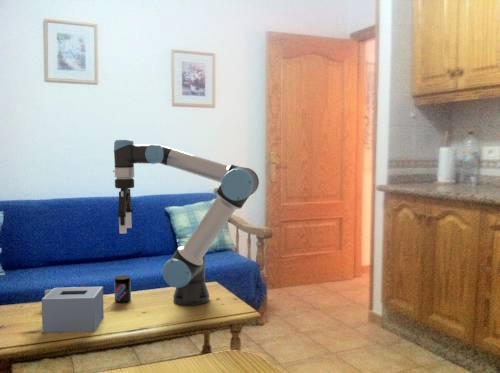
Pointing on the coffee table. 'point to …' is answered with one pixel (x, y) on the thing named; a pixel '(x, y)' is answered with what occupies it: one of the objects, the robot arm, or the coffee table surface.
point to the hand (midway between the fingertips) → (125, 230)
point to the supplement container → (122, 289)
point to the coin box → (72, 309)
